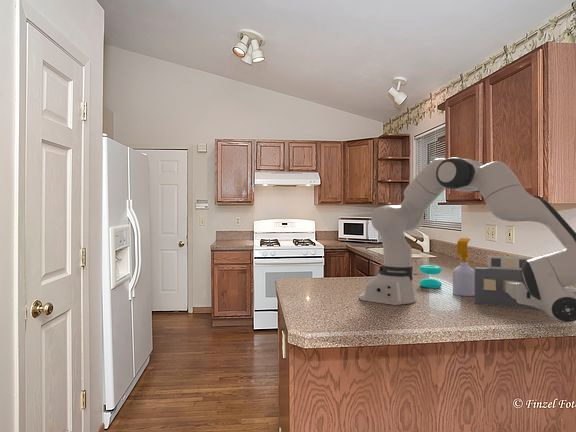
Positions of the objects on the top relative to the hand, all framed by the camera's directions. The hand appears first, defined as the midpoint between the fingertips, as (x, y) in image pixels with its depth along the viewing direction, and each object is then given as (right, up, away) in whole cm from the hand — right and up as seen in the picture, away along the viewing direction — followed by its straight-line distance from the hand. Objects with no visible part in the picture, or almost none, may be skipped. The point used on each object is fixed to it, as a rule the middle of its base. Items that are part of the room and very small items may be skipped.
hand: (539, 286), depth 122 cm
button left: (-5, -5, +22) cm, 23 cm away
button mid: (+1, -5, +17) cm, 17 cm away
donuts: (-15, -11, +54) cm, 58 cm away
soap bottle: (-7, -11, +38) cm, 40 cm away
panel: (+1, -11, +18) cm, 21 cm away
